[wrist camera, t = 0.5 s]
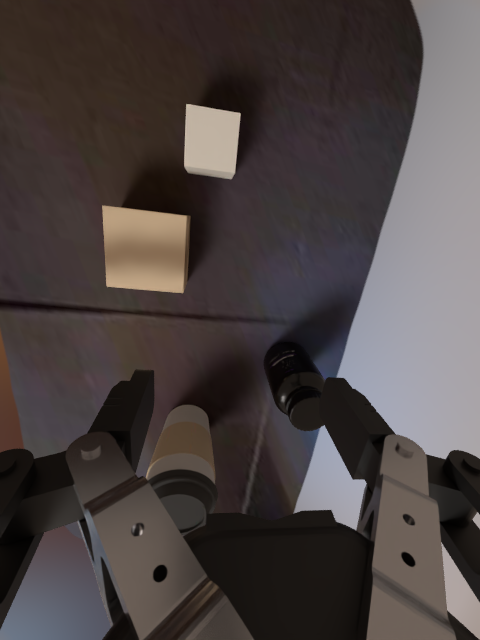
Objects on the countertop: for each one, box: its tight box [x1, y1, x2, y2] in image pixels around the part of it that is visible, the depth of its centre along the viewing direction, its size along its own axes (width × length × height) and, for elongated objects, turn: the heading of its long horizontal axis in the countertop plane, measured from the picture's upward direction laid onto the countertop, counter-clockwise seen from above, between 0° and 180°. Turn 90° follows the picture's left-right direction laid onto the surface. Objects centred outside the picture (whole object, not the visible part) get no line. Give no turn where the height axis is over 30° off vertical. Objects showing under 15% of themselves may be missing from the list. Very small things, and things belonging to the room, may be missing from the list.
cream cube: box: [184, 104, 241, 179], centre depth 28 cm, size 5×5×5 cm
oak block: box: [102, 206, 191, 293], centre depth 31 cm, size 8×8×6 cm
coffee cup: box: [146, 405, 218, 535], centre depth 37 cm, size 9×9×15 cm
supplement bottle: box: [264, 342, 325, 431], centre depth 36 cm, size 7×7×12 cm
